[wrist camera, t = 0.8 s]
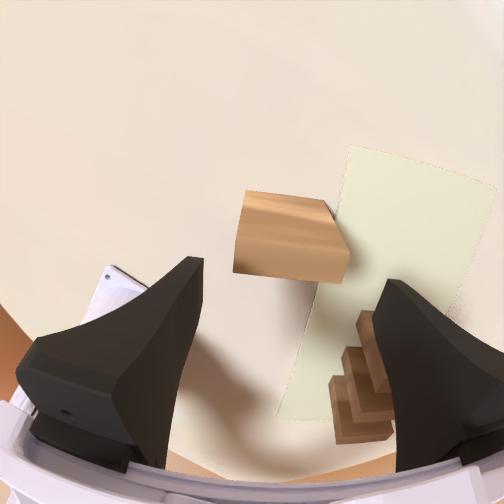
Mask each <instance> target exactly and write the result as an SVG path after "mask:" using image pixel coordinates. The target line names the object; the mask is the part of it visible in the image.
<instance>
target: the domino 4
mask: <svg viewBox="0 0 504 504" xmlns="http://www.w3.org/2000/svg"><path fill="white" fill-rule="evenodd" d="M328 388H329V394H330V401H331V408H332V415H333V422H334V430H335V437H336V445H338V444H353V443H365V442H375V441H383V440H387V439H388V438H389V437H390V436H391V435H392V434H393V433H394V432H393V428H392V424H391V420H385V421H374V422H360V423H354V422H353V416H352V411H351V405H350V400H349V395H348V390H347V385H346V380H345V375H332V377H331V380H330V382H329V384H328Z"/></svg>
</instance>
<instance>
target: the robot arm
mask: <svg viewBox="0 0 504 504" xmlns="http://www.w3.org/2000/svg"><path fill="white" fill-rule="evenodd" d="M203 265H204V258H198V257H190V256H187V257H186V258H185V259H184V260H182V261H181V262H180V263H179V264H178V265H177V266H175V267H174V268H173V269H172V270H171V271H170V272H168V273H167V274H166V275H165V276H164V277H162V278H161V279H160V280H159V281H158V282H156V283H155V284H154V285H152V286H151V287H150V288H148V289H147V288H146V287H144V286H143V285H141V284H139V283H138V282H136V281H135V280H133V279H132V278H130V277H128V276H127V275H125V274H124V273H122V272H121V271H119V270H118V269H116V268H115V267H113V266H110V265H109V266H107V267H106V268H105V270H104V272H103V274H102V277H101V279H100V281H99V284H98V286H97V288H96V291H95V293H94V296H93V298H92V301H91V303H90V306H89V308H88V311H87V313H86V316H85V317H84V319H83V320H82V322H81V323H80V325H79V326H76V327H74V328H71V329H68V330H65V331H61V332H57V333H54V334H50V335H46V336H42V337H37V338H36V340H35V341H34V342H33V344H32V345H31V347H30V348H29V350H28V351H27V353H26V354H25V356H24V357H23V359H22V360H21V362H20V363H19V365H18V367H17V368H16V372H15V373H16V377H17V380H18V382H19V386H18V388H17V390H16V391H15V393H14V395H13V396H12V398H11V400H10V402H9V403H8V402H6V401H4V400H1V401H0V479H1V480H2V481H3V482H5V483H6V484H8V485H9V487H10V489H11V490H12V492H11V494H10V496H9V498H8V500H7V502H6V504H494V503H496V502H498V501H499V500H501V499H503V498H504V353H503V352H500V351H499V350H497V349H495V348H493V347H491V346H489V345H487V344H486V343H484V342H482V341H480V340H479V339H477V338H476V337H474V336H473V335H471V334H470V333H468V332H467V331H465V330H464V329H462V328H461V327H460V326H458V325H457V324H455V323H454V322H453V321H452V320H450V319H449V318H448V317H447V316H445V315H444V314H443V313H442V312H440V311H439V310H438V309H437V308H436V307H434V306H433V305H432V304H431V303H430V302H428V301H427V300H426V299H425V298H424V297H423V296H421V295H420V294H419V293H418V292H417V291H415V290H414V289H413V288H412V287H410V286H409V285H408V284H406V283H405V282H403V281H402V280H399V279H389V278H388V279H387V281H386V284H385V286H384V289H383V291H382V294H381V296H380V299H379V301H378V304H377V306H376V308H375V311H374V313H373V315H372V323H373V329H374V334H375V339H376V342H377V346H378V349H379V352H380V355H381V358H382V361H383V364H384V367H385V371H386V374H387V377H388V380H389V384H390V388H391V393H392V399H393V406H394V413H395V424H396V446H397V453H396V473H393V474H387V475H381V476H375V477H368V478H361V479H353V480H343V481H332V482H314V483H263V482H246V481H234V480H224V479H215V478H208V477H201V476H194V475H188V474H183V473H177V472H172V471H167V470H165V465H166V457H167V449H168V442H169V436H170V429H171V423H172V417H173V412H174V406H175V401H176V396H177V391H178V386H179V381H180V377H181V374H182V370H183V367H184V364H185V361H186V358H187V355H188V352H189V349H190V346H191V344H192V341H193V338H194V335H195V332H196V329H197V326H198V322H199V318H200V313H201V308H202V303H203ZM107 275H109V276H110V277H108V276H107Z"/></svg>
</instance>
